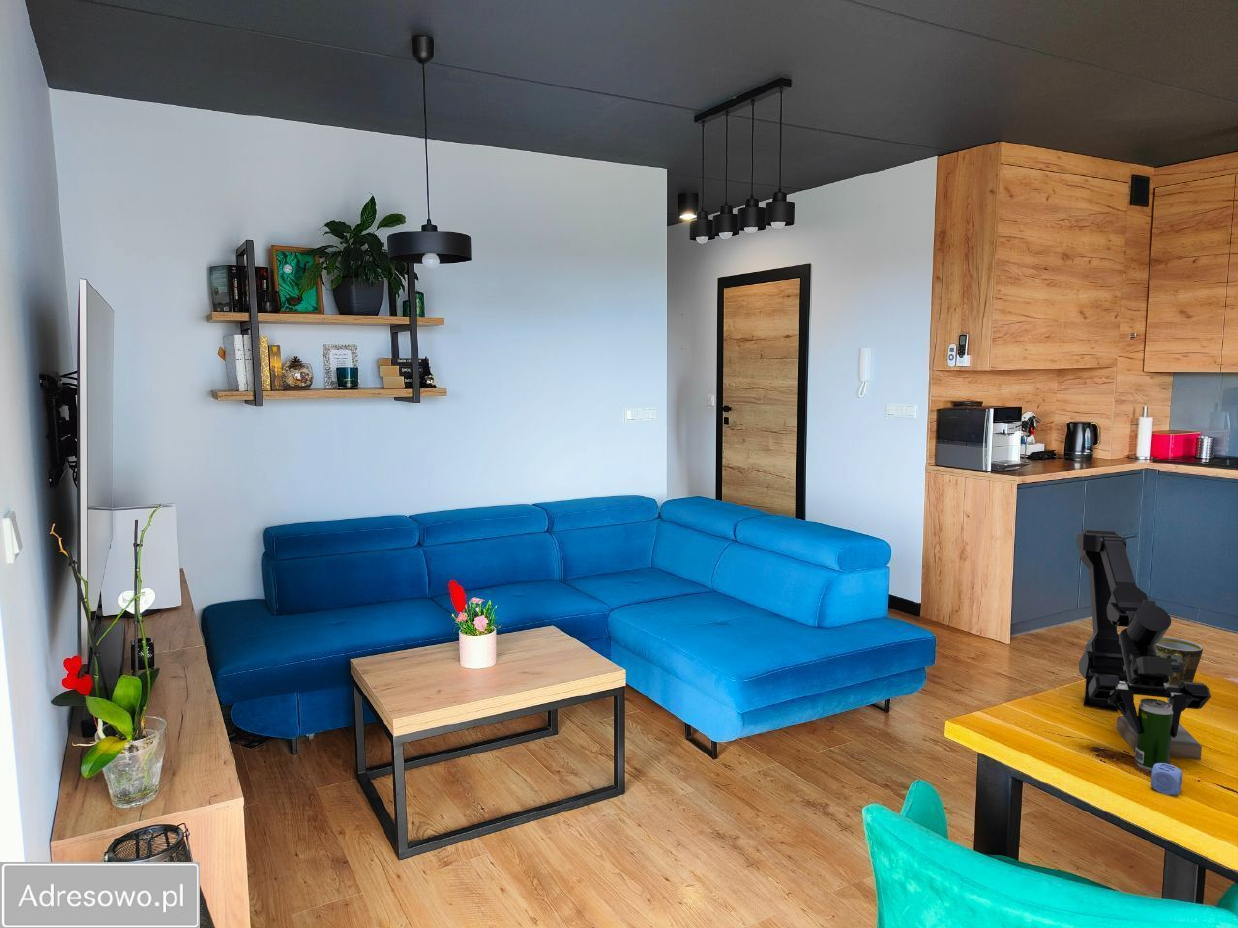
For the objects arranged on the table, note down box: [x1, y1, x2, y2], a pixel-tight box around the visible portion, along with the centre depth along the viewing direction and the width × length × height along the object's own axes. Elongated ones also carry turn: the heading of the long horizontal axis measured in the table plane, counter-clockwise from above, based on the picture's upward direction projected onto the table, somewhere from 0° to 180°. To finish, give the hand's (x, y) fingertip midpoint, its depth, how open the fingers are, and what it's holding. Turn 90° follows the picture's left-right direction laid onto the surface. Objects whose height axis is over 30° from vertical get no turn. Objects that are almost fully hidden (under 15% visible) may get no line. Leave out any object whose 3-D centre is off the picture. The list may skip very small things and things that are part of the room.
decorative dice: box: [1150, 763, 1183, 796], centre depth 141 cm, size 4×4×4 cm
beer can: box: [1134, 697, 1173, 772], centre depth 150 cm, size 5×5×12 cm
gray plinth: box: [1115, 715, 1203, 761], centre depth 160 cm, size 11×11×3 cm
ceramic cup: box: [1155, 636, 1204, 688], centre depth 190 cm, size 13×10×10 cm
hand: (1156, 734), depth 148 cm, fingers closed on beer can, 5 cm apart
